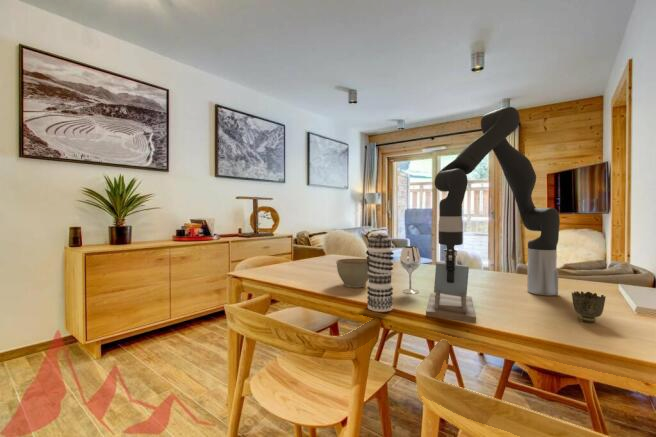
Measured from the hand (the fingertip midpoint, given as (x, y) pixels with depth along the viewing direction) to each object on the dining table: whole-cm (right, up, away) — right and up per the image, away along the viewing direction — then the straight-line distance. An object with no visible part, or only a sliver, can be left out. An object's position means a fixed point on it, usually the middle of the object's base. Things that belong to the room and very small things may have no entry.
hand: (450, 281), depth 100 cm
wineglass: (-8, -9, +21) cm, 24 cm away
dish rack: (0, -9, 0) cm, 9 cm away
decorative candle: (-23, -9, +1) cm, 25 cm away
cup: (+35, -9, -13) cm, 38 cm away
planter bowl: (-29, -9, +32) cm, 44 cm away
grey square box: (0, -4, 0) cm, 4 cm away
